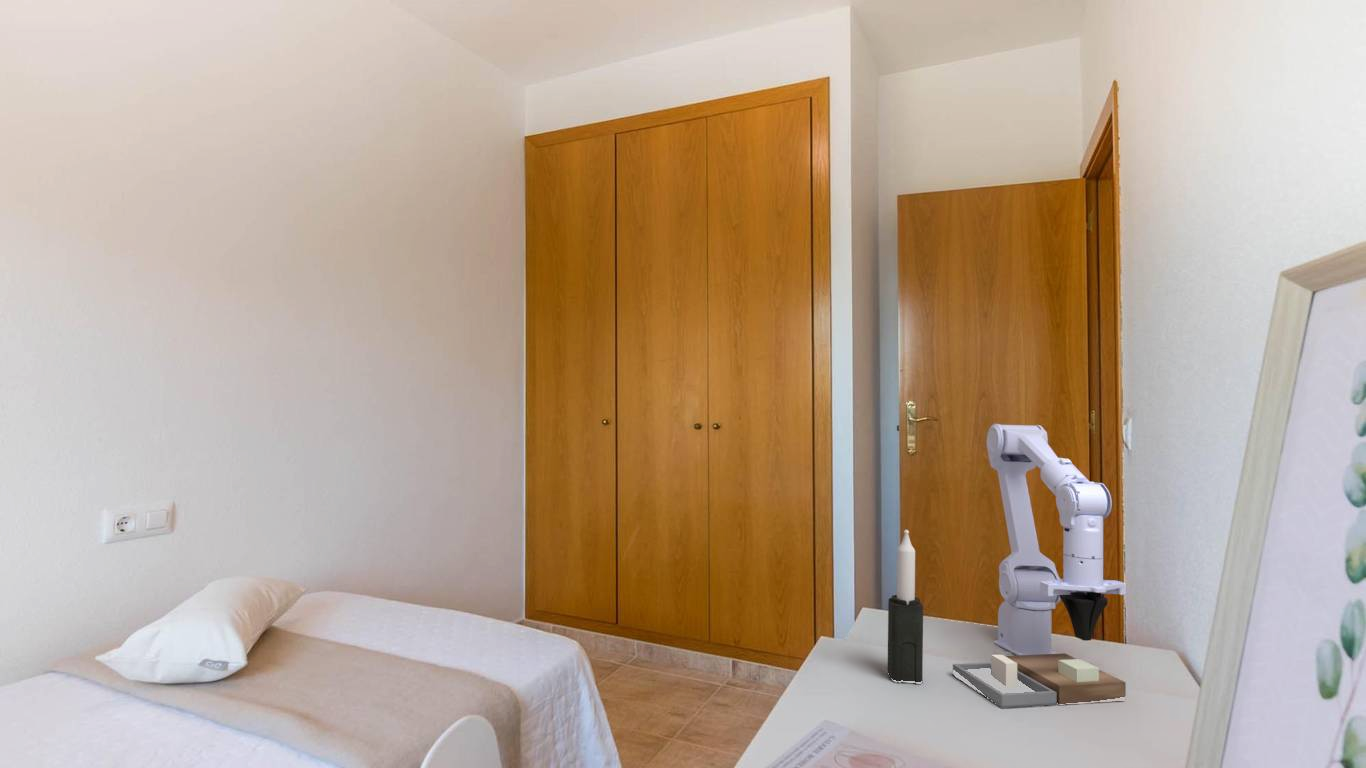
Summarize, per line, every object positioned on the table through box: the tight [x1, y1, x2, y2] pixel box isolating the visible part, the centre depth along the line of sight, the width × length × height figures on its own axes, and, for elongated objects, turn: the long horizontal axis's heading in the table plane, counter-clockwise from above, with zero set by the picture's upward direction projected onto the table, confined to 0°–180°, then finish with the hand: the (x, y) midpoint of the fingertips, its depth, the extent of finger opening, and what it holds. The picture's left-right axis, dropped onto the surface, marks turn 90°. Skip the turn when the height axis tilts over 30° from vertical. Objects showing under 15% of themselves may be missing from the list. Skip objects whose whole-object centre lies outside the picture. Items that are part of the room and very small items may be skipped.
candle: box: [887, 529, 924, 682], centre depth 114 cm, size 5×5×25 cm
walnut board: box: [1005, 652, 1127, 705], centre depth 112 cm, size 13×12×3 cm
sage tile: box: [1058, 658, 1100, 682], centre depth 109 cm, size 4×4×2 cm
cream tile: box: [990, 654, 1017, 687], centre depth 112 cm, size 4×4×2 cm
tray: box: [952, 661, 1058, 709], centre depth 110 cm, size 13×10×2 cm
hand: (1083, 638), depth 111 cm, fingers closed
